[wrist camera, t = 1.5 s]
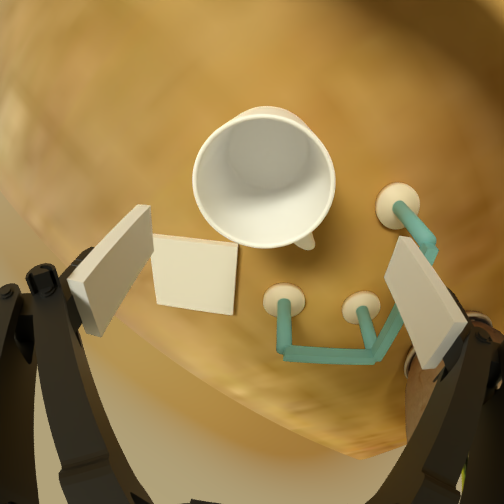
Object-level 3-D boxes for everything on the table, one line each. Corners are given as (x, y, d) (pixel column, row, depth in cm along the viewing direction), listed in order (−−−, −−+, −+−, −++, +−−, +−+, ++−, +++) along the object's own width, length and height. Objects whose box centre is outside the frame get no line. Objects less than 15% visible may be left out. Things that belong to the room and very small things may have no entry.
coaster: (151, 233, 32) (148, 236, 31) (238, 243, 31) (237, 247, 31) (159, 299, 37) (157, 303, 36) (233, 310, 37) (232, 315, 36)
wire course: (283, 160, 26) (285, 193, 19) (422, 187, 26) (465, 226, 18) (261, 311, 36) (256, 369, 29) (371, 320, 36) (386, 374, 28)
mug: (269, 233, 30) (264, 301, 21) (205, 135, 26) (165, 163, 16) (343, 197, 28) (374, 254, 19) (285, 89, 23) (291, 86, 14)
